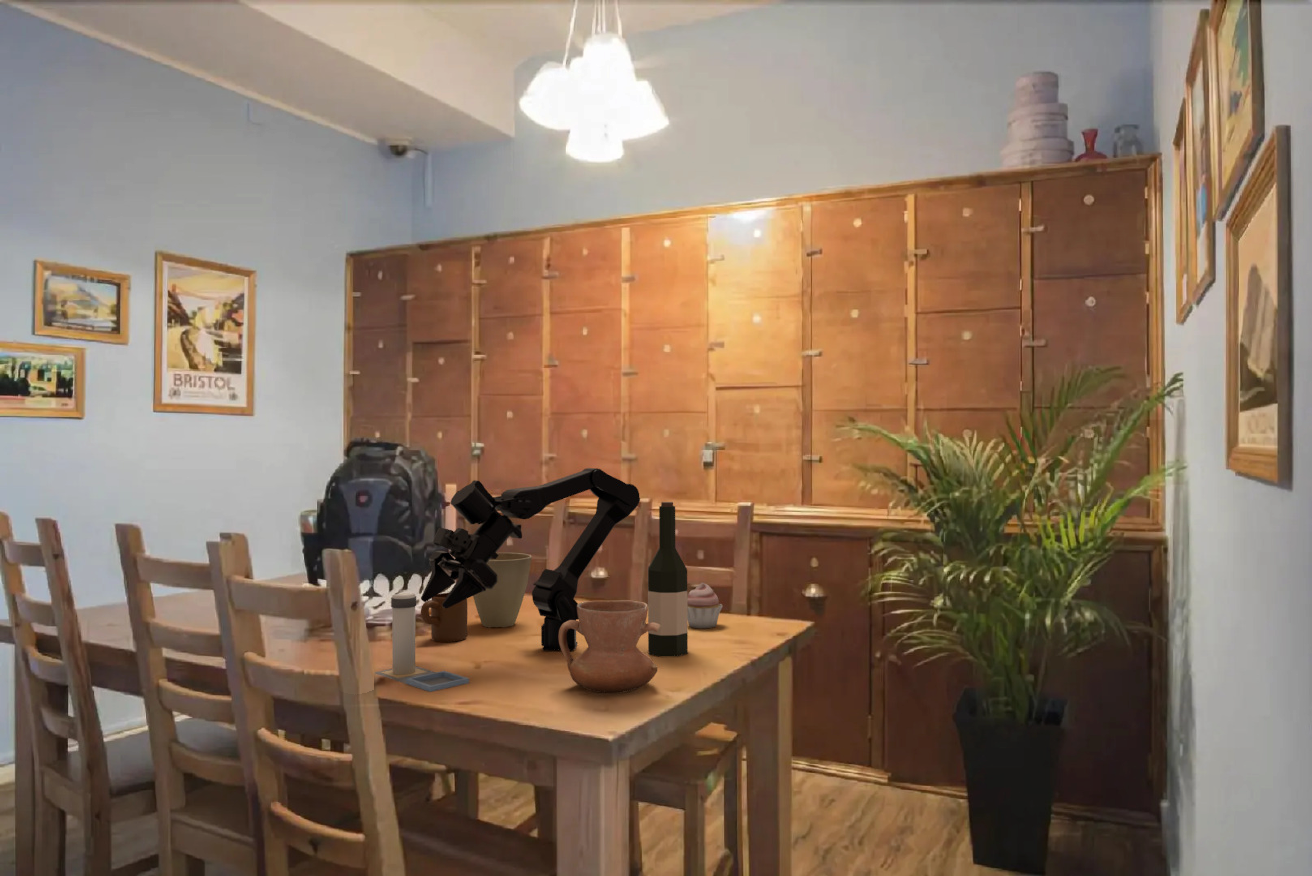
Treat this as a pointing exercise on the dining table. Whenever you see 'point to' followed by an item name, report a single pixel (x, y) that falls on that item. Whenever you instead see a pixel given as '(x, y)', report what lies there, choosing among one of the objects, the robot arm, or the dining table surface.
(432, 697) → the dining table surface
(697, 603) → the cupcake
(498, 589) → the plant pot
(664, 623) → the wine bottle
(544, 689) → the dining table surface
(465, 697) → the dining table surface
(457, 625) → the mug
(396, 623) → the white grey banded cylinder
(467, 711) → the dining table surface
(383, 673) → the grey rectangular board
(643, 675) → the ceramic jug
